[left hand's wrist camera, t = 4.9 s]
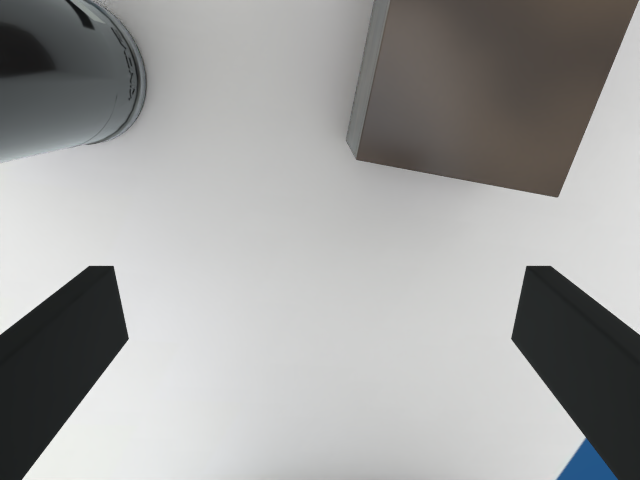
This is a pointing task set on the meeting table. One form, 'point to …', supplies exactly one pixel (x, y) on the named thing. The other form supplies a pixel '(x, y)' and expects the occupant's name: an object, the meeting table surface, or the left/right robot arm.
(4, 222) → the meeting table surface
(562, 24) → the cabinet
